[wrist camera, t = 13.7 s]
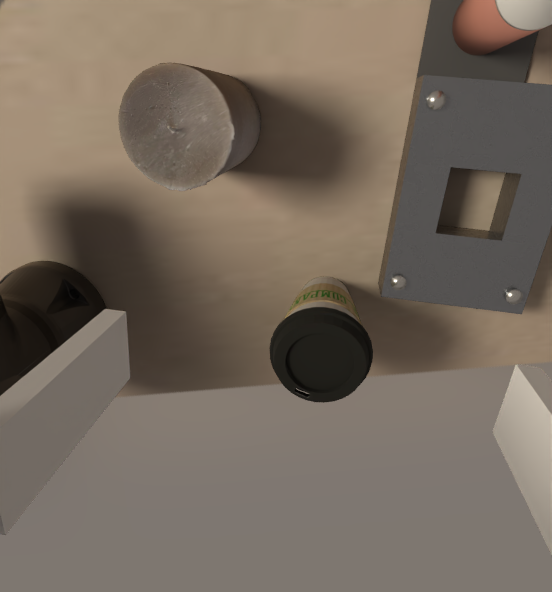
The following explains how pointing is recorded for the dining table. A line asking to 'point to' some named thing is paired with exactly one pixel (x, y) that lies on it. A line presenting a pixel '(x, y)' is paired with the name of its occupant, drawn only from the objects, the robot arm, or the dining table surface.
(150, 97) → the pillar candle
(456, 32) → the pink round peg
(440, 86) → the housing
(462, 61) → the mat
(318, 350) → the coffee cup
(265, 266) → the dining table surface
